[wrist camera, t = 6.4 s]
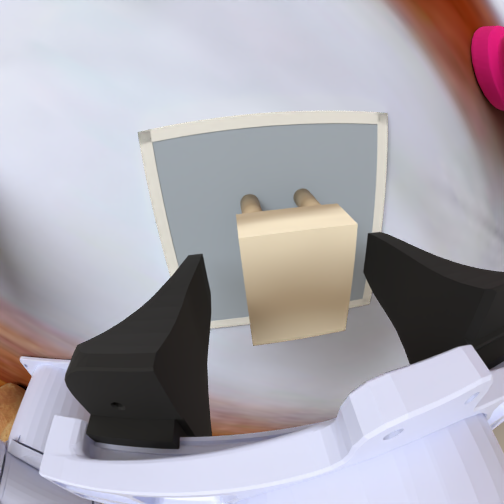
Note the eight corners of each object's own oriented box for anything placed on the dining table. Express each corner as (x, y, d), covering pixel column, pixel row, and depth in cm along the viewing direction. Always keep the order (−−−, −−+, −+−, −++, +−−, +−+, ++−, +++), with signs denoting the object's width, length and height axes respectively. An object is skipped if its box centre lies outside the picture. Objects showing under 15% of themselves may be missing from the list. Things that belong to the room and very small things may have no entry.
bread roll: (55, 393, 22) (36, 454, 15) (74, 440, 28) (64, 484, 22) (-11, 361, 20) (-35, 413, 13) (20, 417, 26) (7, 457, 19)
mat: (367, 300, 18) (369, 304, 18) (187, 325, 18) (187, 330, 17) (383, 112, 12) (387, 113, 12) (140, 131, 12) (137, 132, 11)
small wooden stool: (233, 190, 13) (238, 237, 9) (315, 182, 14) (357, 223, 9) (244, 278, 16) (253, 345, 12) (315, 268, 16) (345, 330, 12)
